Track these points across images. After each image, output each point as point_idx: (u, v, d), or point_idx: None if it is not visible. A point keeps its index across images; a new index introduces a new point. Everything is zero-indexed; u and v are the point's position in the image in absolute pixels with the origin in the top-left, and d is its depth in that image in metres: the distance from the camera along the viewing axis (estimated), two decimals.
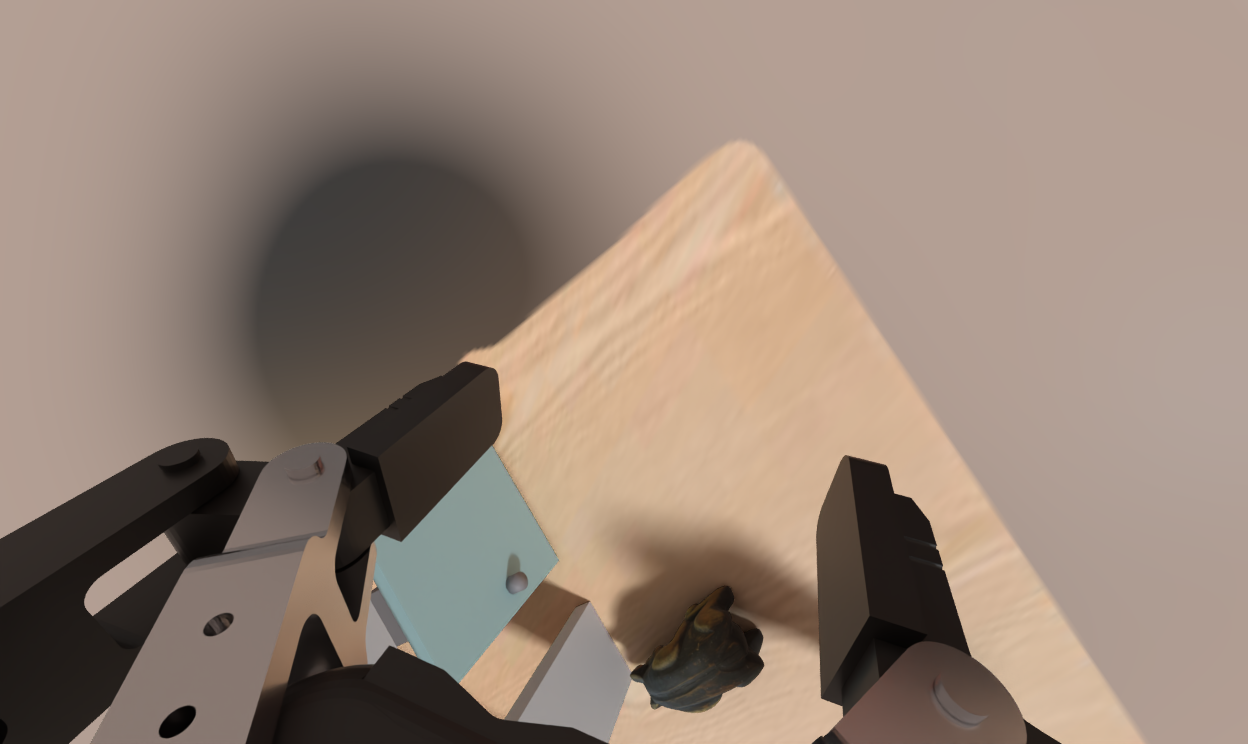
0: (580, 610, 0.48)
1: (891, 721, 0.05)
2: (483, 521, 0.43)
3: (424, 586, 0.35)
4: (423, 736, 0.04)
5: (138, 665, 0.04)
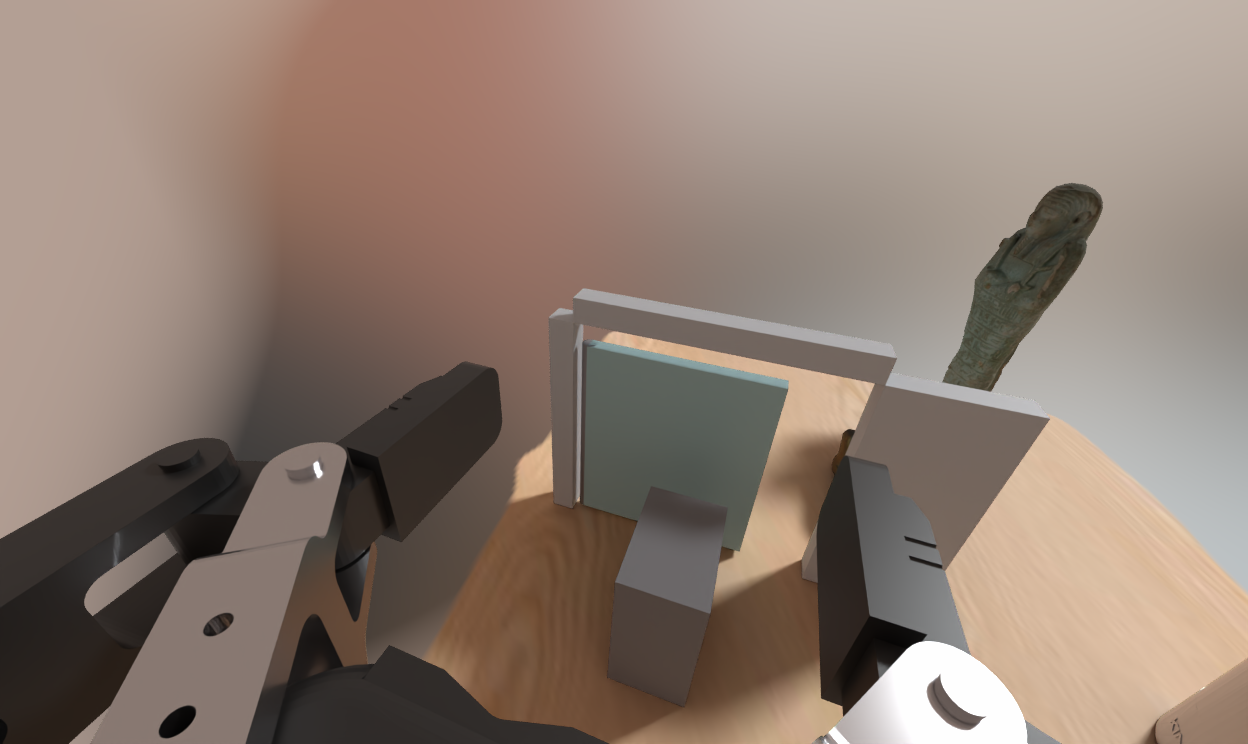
0: (805, 556, 0.40)
1: (891, 721, 0.05)
2: None
3: None
4: (423, 736, 0.04)
5: (141, 665, 0.04)
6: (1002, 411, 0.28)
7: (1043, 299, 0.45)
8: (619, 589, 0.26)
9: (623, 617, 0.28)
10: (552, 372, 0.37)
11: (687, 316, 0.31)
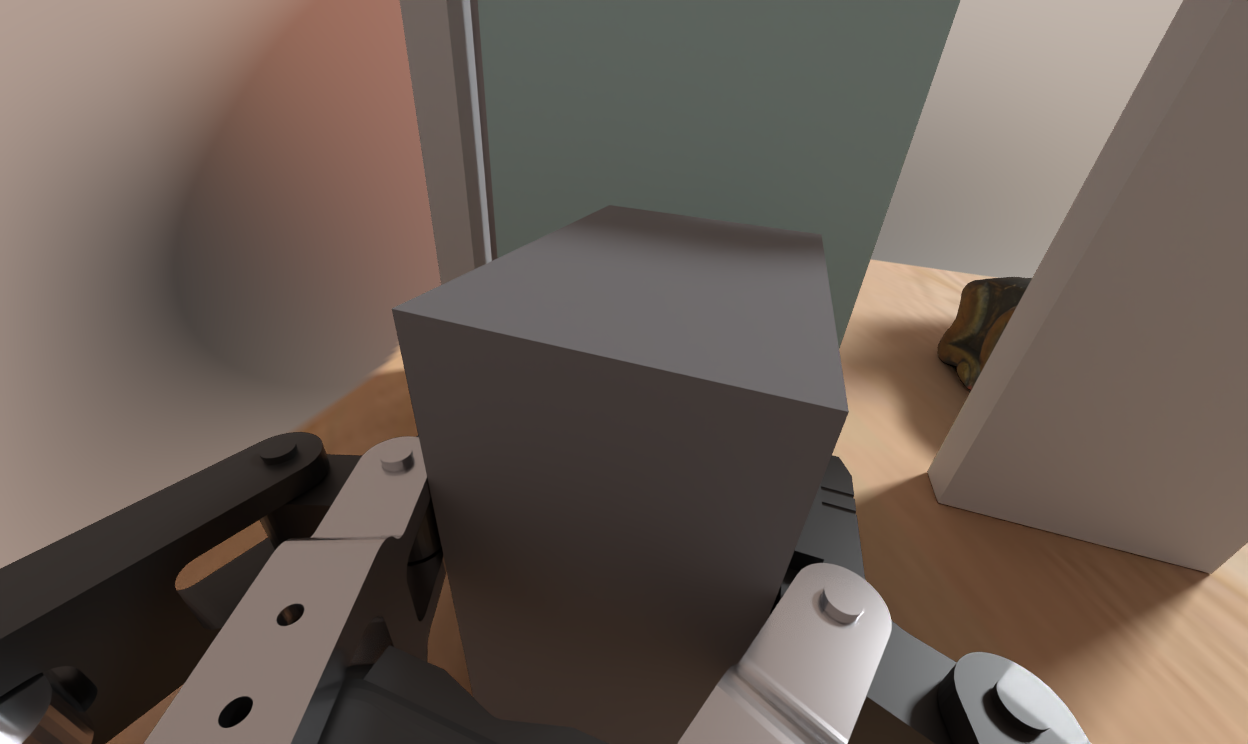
0: (941, 460, 0.19)
1: (776, 620, 0.06)
2: None
3: None
4: (423, 736, 0.04)
5: (219, 641, 0.05)
6: None
7: None
8: (418, 353, 0.06)
9: (465, 500, 0.07)
10: (408, 31, 0.17)
11: None
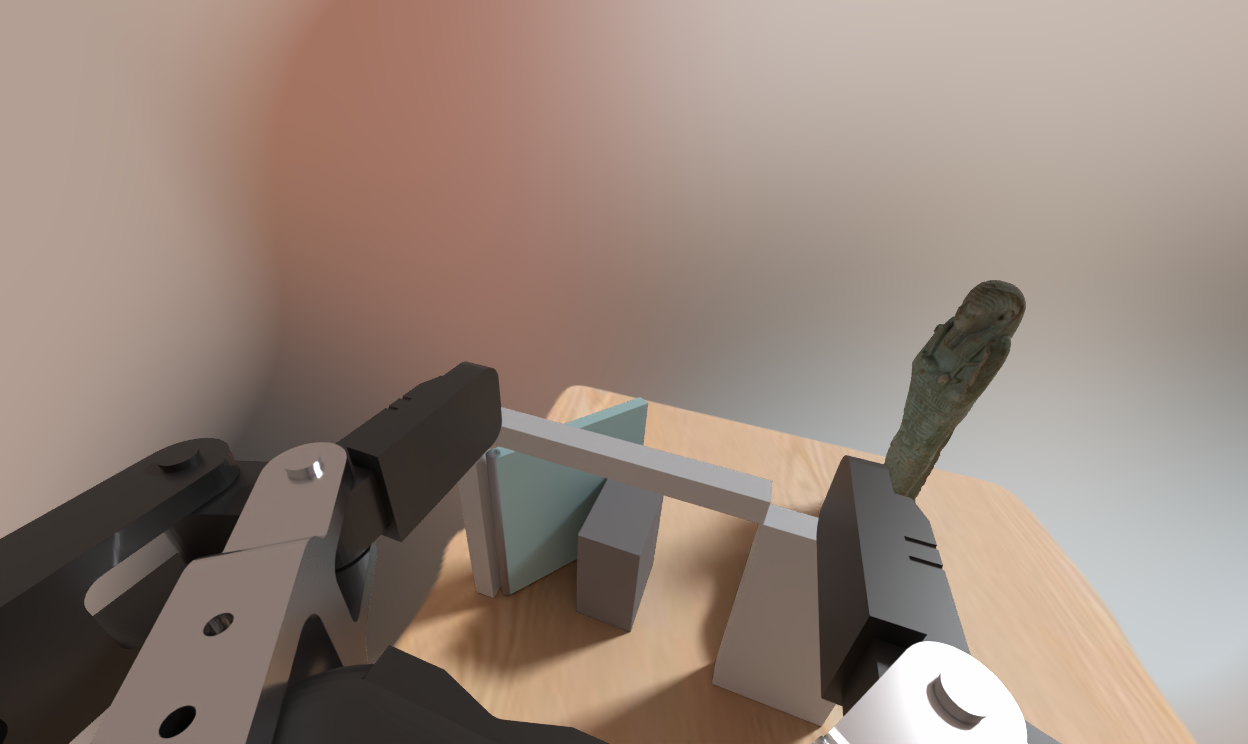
0: (716, 660, 0.40)
1: (891, 721, 0.05)
2: None
3: None
4: (423, 736, 0.04)
5: (140, 664, 0.04)
6: None
7: (970, 394, 0.45)
8: (580, 541, 0.39)
9: (584, 562, 0.40)
10: None
11: (576, 442, 0.32)
